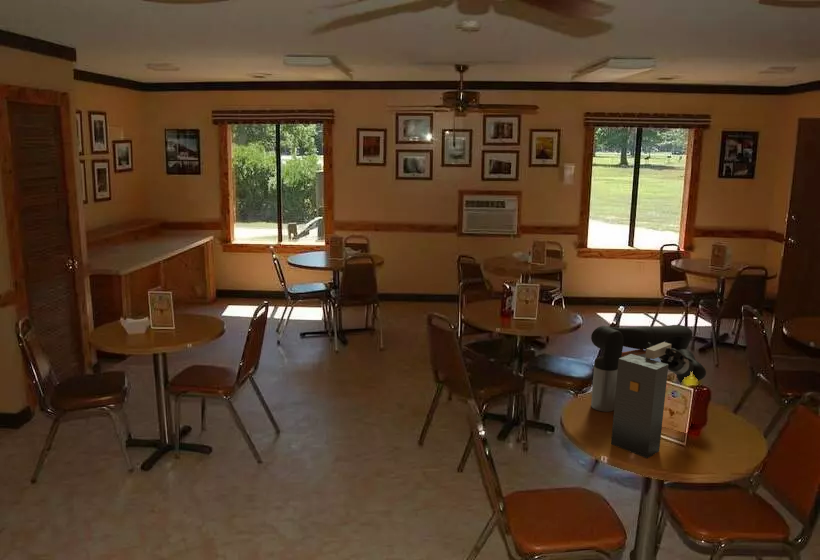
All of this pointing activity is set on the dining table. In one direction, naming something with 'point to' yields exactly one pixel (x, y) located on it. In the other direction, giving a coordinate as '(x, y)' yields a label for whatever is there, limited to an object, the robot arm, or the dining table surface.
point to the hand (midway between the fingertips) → (657, 347)
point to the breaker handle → (657, 350)
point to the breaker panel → (639, 405)
